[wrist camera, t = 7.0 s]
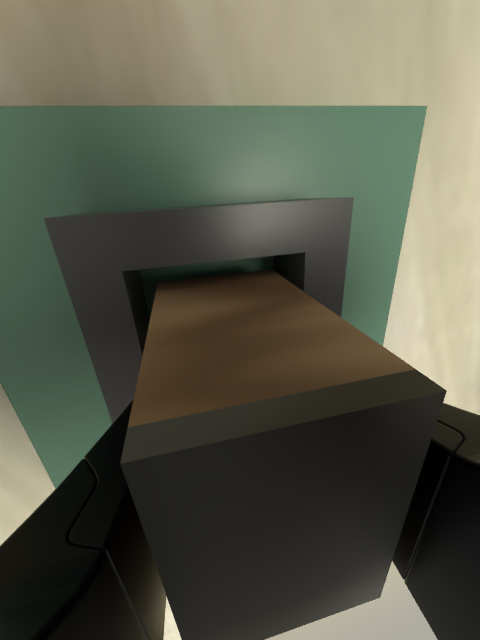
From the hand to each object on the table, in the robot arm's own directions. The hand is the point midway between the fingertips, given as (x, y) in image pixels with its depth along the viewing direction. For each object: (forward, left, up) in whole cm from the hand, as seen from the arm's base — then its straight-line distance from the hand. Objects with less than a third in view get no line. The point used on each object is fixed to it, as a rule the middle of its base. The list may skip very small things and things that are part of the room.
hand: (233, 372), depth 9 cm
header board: (0, 0, -5) cm, 5 cm away
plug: (0, 0, -2) cm, 2 cm away
